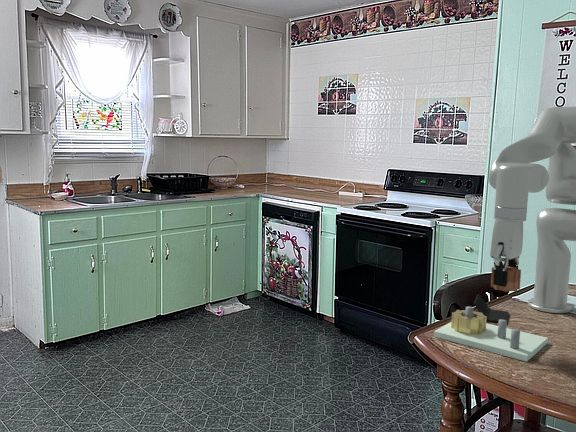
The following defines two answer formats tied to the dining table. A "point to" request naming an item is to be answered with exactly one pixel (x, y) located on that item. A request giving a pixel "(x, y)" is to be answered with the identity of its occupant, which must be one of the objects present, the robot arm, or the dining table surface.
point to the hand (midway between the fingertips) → (505, 282)
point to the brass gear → (468, 322)
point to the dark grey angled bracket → (489, 311)
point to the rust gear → (509, 280)
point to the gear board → (496, 339)
